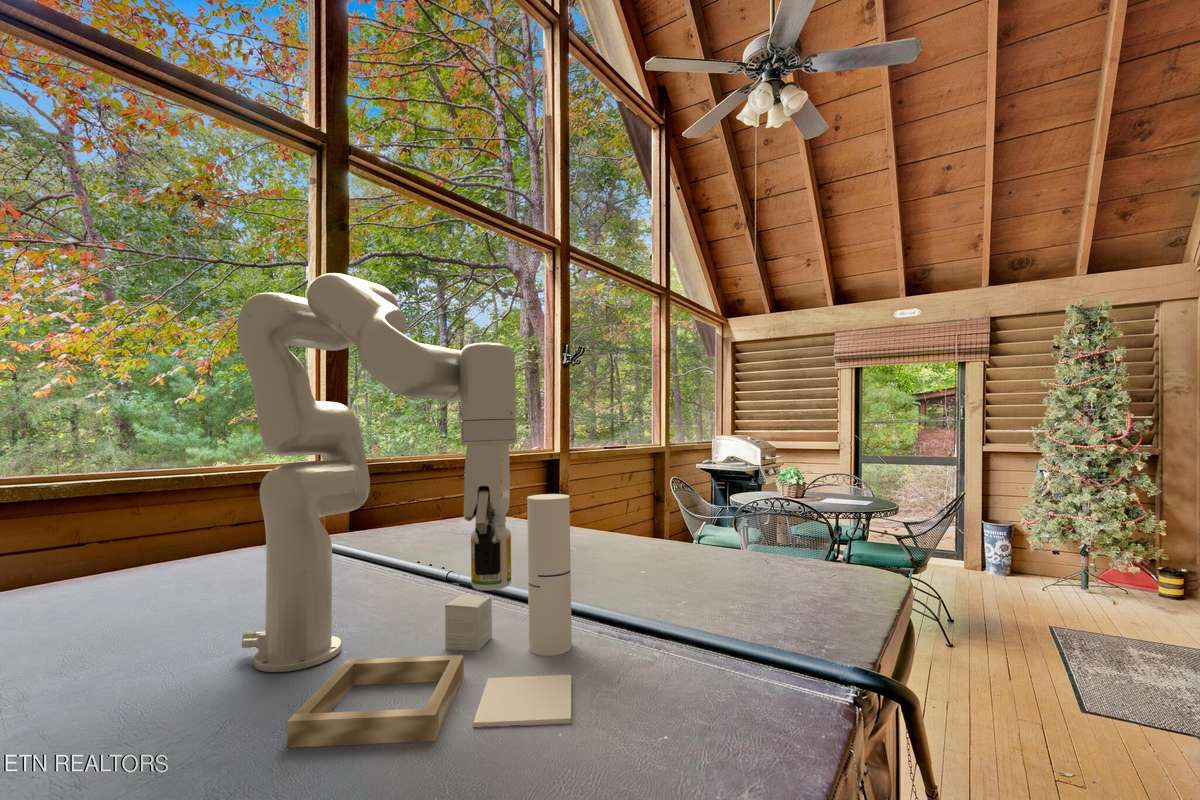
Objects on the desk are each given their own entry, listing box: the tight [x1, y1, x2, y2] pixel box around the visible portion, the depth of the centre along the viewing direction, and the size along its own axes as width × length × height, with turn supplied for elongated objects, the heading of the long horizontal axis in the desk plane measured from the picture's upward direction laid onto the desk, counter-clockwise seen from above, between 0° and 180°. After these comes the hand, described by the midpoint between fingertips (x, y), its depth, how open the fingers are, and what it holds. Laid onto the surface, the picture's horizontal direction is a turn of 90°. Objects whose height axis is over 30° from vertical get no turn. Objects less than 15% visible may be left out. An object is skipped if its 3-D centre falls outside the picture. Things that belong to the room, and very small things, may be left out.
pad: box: [472, 674, 572, 728], centre depth 73 cm, size 12×12×1 cm
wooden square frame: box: [286, 654, 465, 749], centre depth 72 cm, size 17×17×3 cm
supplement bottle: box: [470, 513, 512, 591], centre depth 74 cm, size 5×5×10 cm
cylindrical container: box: [526, 493, 573, 657], centre depth 92 cm, size 7×7×25 cm
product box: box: [444, 594, 493, 652], centre depth 94 cm, size 6×6×7 cm
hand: (491, 566), depth 74 cm, fingers closed on supplement bottle, 5 cm apart
